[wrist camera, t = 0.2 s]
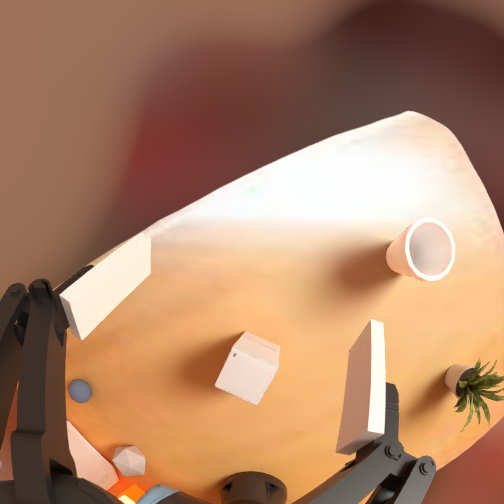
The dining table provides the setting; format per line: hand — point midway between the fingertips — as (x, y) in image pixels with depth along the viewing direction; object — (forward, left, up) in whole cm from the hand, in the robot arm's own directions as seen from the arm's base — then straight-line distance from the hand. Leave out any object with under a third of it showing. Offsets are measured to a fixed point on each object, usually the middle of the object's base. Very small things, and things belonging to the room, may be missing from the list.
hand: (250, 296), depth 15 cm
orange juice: (-56, +45, -36) cm, 80 cm away
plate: (-46, +63, -36) cm, 86 cm away
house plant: (-27, -35, -36) cm, 57 cm away
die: (-38, +39, -36) cm, 65 cm away
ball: (-20, +49, -33) cm, 62 cm away
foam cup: (+2, -24, -36) cm, 43 cm away
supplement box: (-12, +6, -36) cm, 38 cm away
